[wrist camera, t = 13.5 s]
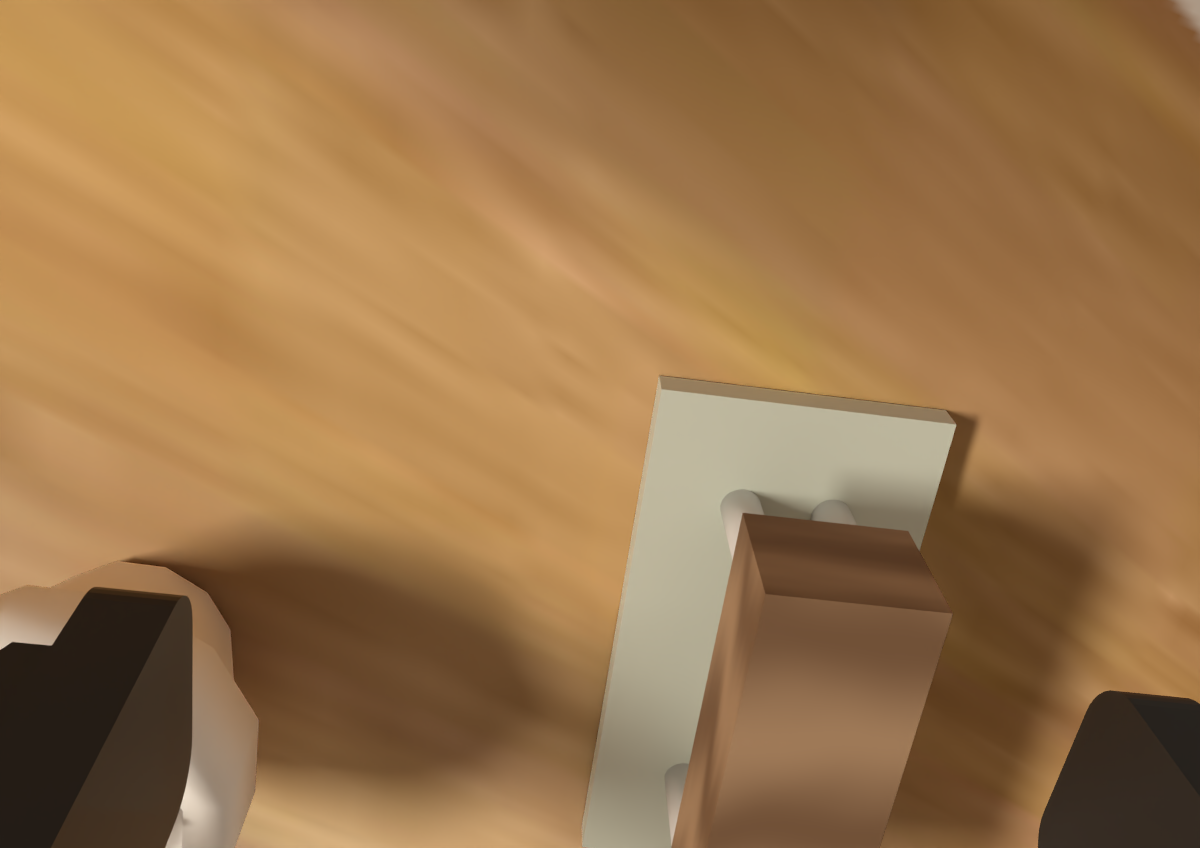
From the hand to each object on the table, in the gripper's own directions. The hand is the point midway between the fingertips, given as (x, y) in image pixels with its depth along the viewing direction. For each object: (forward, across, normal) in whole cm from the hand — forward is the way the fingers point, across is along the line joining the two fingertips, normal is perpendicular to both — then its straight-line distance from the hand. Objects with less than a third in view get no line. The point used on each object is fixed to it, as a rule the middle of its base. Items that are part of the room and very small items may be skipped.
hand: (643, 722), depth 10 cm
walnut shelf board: (+22, -9, +18) cm, 29 cm away
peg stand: (+27, -9, +18) cm, 33 cm away
